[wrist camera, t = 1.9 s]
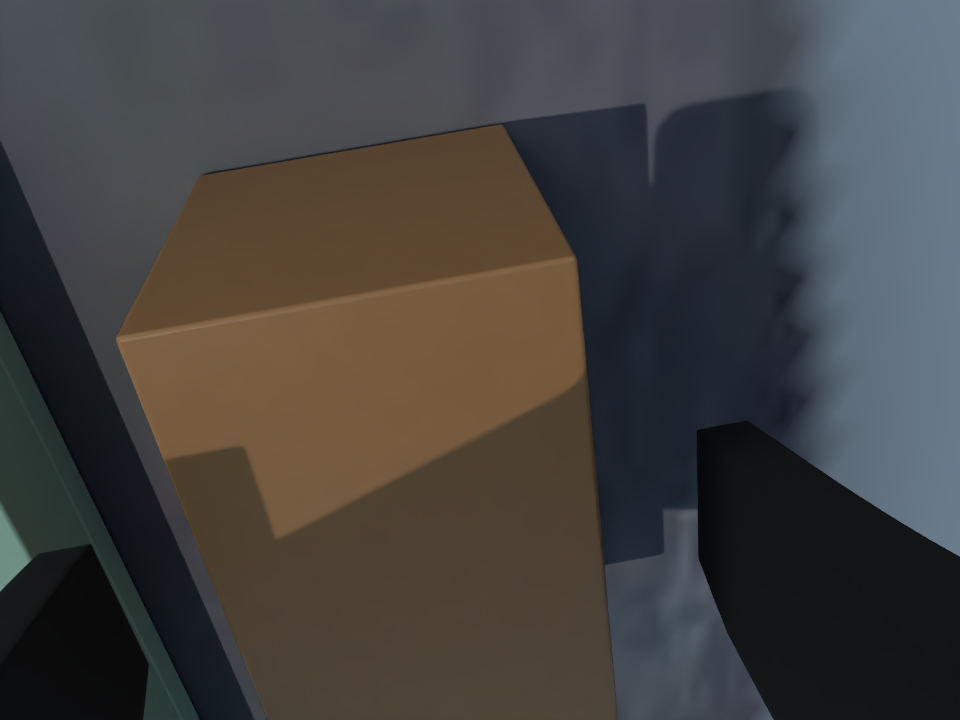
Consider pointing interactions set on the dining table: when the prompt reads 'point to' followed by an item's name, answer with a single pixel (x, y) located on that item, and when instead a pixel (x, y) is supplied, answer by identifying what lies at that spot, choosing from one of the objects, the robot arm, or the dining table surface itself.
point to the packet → (385, 432)
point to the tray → (64, 518)
